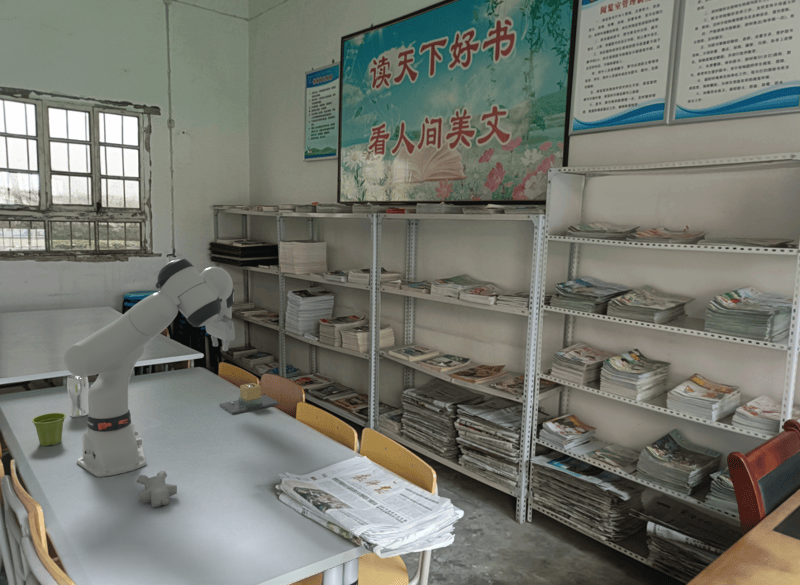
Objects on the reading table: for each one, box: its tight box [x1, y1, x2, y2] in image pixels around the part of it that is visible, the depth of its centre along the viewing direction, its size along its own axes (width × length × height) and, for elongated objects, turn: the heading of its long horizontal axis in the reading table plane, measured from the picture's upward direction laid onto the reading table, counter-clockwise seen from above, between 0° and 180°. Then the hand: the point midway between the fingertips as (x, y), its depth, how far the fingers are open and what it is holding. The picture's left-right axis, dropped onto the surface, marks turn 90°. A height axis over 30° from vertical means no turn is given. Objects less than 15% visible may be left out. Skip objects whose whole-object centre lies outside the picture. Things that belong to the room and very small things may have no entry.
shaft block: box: [219, 385, 280, 415], centre depth 226 cm, size 12×20×8 cm, turn 130°
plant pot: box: [31, 412, 66, 447], centre depth 185 cm, size 9×9×9 cm
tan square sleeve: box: [239, 382, 262, 401], centre depth 225 cm, size 6×6×5 cm
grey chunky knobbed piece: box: [136, 470, 178, 508], centre depth 151 cm, size 10×5×15 cm
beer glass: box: [66, 374, 90, 418], centre depth 211 cm, size 7×7×15 cm
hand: (220, 348), depth 220 cm, fingers open, 8 cm apart
